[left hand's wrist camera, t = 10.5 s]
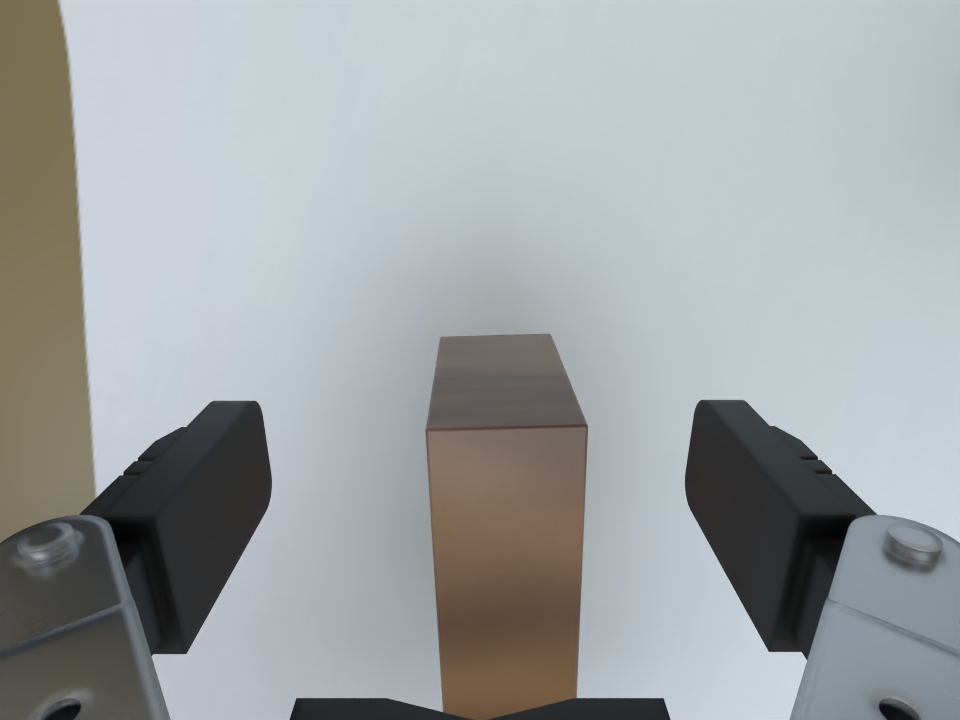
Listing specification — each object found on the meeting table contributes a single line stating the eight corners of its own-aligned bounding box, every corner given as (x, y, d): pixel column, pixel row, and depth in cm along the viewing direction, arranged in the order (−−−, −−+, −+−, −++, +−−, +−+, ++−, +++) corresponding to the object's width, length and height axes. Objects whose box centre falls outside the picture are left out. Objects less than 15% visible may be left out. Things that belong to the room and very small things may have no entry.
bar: (440, 336, 27) (425, 429, 19) (550, 333, 28) (588, 425, 19) (459, 721, 36) (455, 911, 27) (544, 718, 36) (568, 908, 27)
